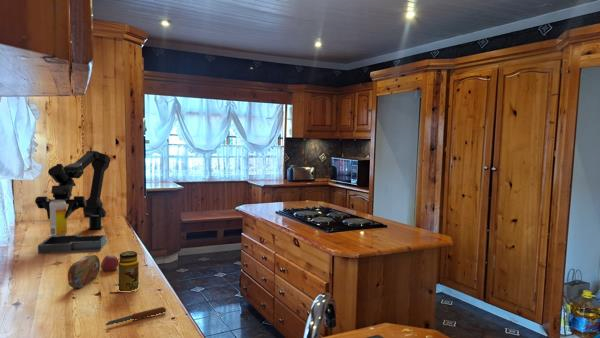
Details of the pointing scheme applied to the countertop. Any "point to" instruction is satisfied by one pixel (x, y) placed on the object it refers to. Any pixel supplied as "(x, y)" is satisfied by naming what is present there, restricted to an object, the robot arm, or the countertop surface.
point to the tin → (83, 271)
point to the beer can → (58, 218)
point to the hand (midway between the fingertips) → (57, 218)
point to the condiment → (128, 271)
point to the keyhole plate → (72, 244)
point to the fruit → (109, 263)
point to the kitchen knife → (139, 315)
